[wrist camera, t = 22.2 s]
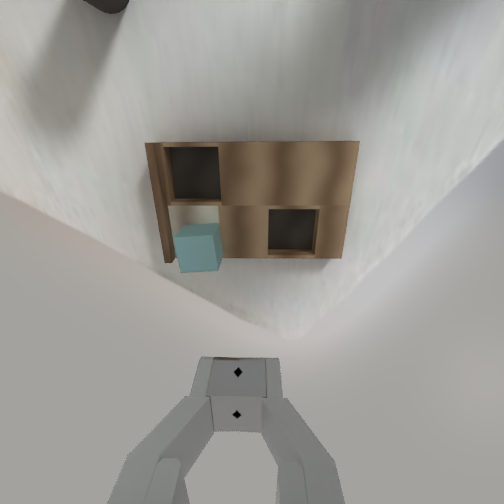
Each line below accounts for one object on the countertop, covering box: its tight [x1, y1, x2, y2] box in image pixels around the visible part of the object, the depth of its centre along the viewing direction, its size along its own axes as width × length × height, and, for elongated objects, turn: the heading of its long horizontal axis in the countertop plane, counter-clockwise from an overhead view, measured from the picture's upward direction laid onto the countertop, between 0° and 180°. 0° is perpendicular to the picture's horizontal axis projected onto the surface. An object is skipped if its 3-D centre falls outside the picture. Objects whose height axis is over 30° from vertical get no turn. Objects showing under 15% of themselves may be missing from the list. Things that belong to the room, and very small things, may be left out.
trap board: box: [145, 141, 360, 263], centre depth 34 cm, size 26×16×4 cm, turn 90°
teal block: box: [173, 223, 223, 273], centre depth 34 cm, size 5×5×5 cm
